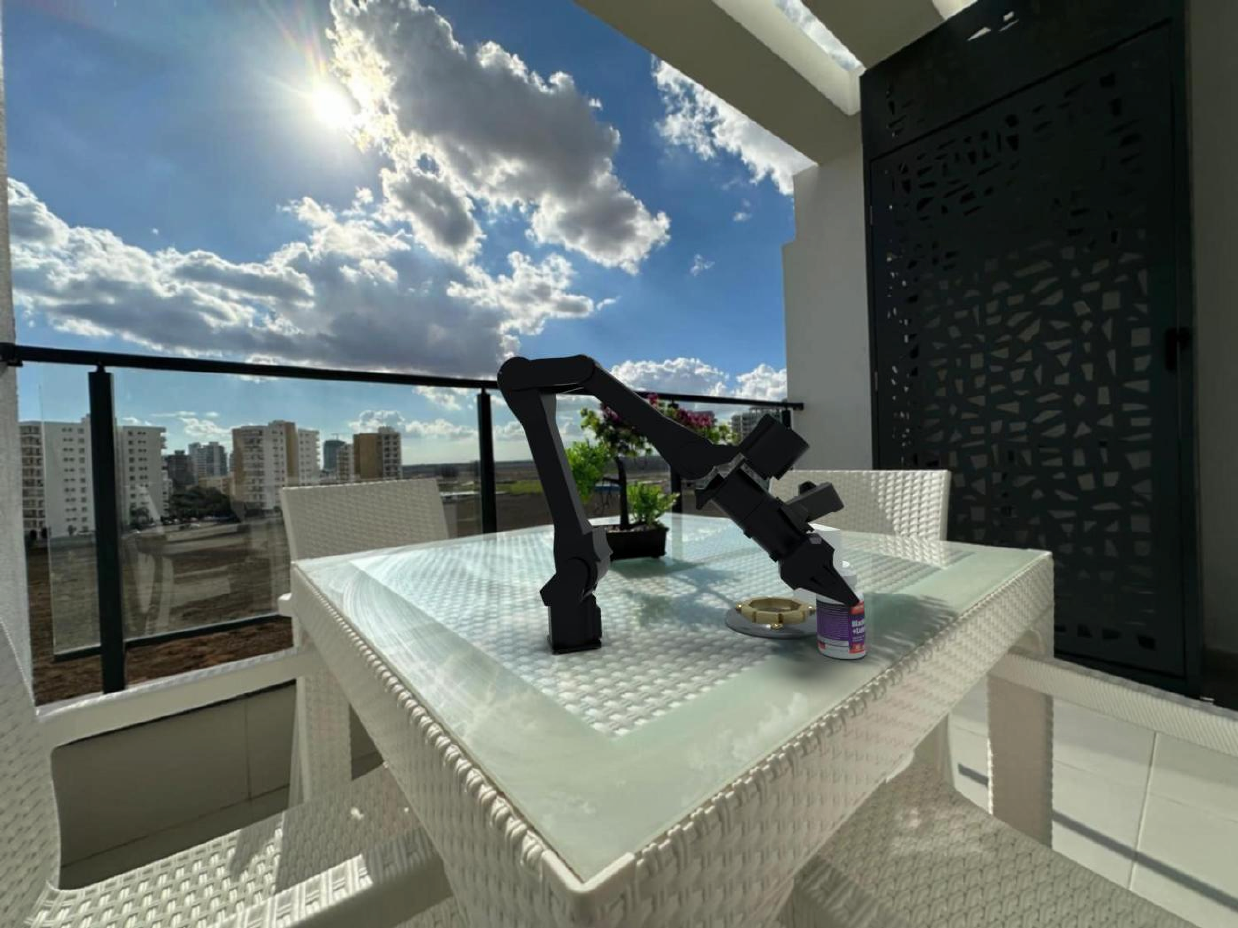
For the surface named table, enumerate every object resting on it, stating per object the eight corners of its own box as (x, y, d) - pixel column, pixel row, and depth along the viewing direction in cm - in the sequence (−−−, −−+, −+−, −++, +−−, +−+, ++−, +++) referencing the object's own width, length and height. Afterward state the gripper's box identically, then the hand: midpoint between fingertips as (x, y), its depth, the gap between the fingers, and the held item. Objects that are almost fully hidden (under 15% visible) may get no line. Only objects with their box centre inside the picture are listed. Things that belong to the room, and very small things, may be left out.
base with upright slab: (784, 595, 89) (780, 525, 89) (833, 591, 90) (830, 522, 90) (809, 609, 80) (805, 532, 80) (863, 605, 81) (860, 528, 81)
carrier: (757, 644, 66) (756, 625, 66) (710, 615, 80) (709, 598, 80) (849, 630, 70) (849, 611, 70) (790, 603, 84) (789, 588, 84)
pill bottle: (863, 663, 59) (859, 578, 59) (814, 656, 62) (810, 574, 62) (869, 647, 64) (865, 568, 64) (823, 641, 67) (819, 565, 66)
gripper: (808, 461, 54) (930, 566, 52) (790, 460, 73) (880, 537, 70) (735, 537, 56) (849, 642, 54) (735, 517, 74) (821, 594, 72)
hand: (851, 597), depth 62 cm, fingers closed on pill bottle, 5 cm apart
